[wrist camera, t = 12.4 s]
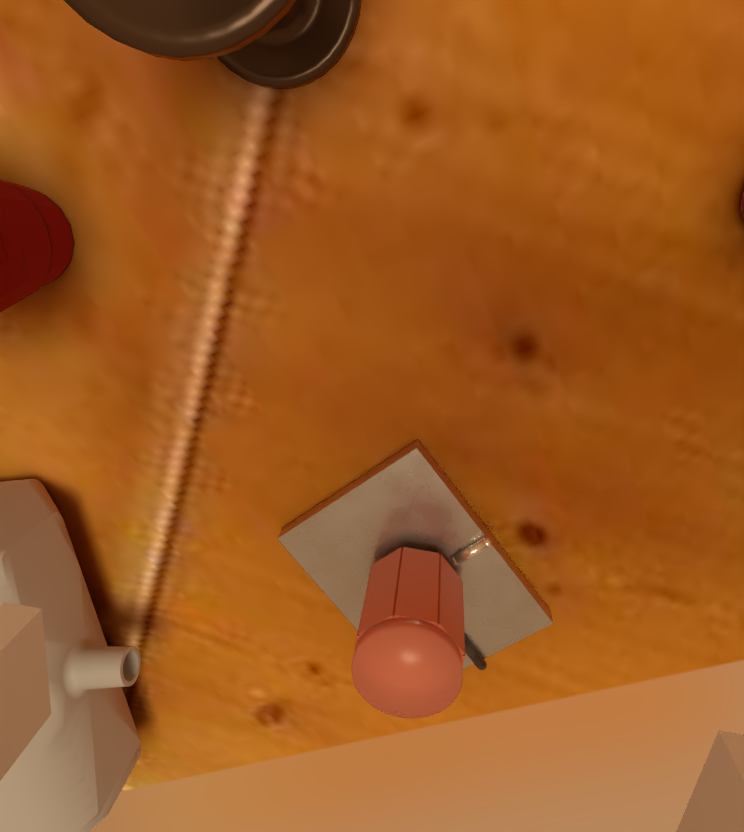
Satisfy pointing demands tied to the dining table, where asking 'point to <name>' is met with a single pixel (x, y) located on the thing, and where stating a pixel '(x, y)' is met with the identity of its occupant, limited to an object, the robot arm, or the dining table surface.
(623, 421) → the dining table surface
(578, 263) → the dining table surface
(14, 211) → the plastic cup
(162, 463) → the dining table surface
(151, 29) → the candlestick
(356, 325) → the dining table surface
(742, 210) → the sauce bottle
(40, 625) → the robot arm
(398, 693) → the wire nut
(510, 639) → the plate
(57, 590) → the tank
